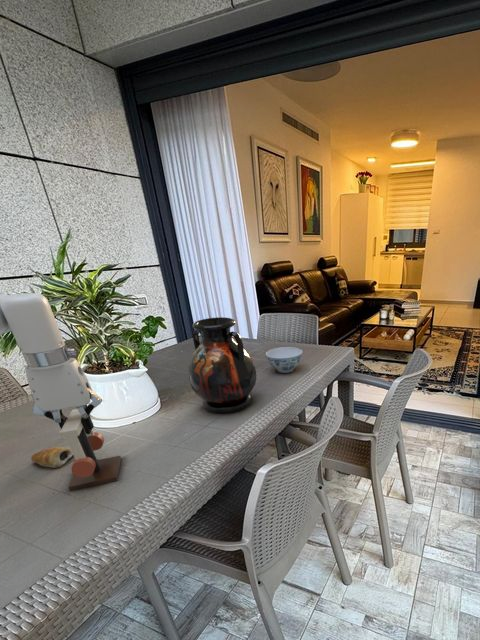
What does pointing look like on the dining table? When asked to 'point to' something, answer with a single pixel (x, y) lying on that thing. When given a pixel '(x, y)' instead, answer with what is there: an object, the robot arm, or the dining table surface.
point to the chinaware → (284, 358)
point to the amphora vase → (221, 366)
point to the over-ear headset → (70, 431)
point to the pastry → (52, 457)
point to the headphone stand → (103, 470)
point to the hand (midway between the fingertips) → (79, 432)
